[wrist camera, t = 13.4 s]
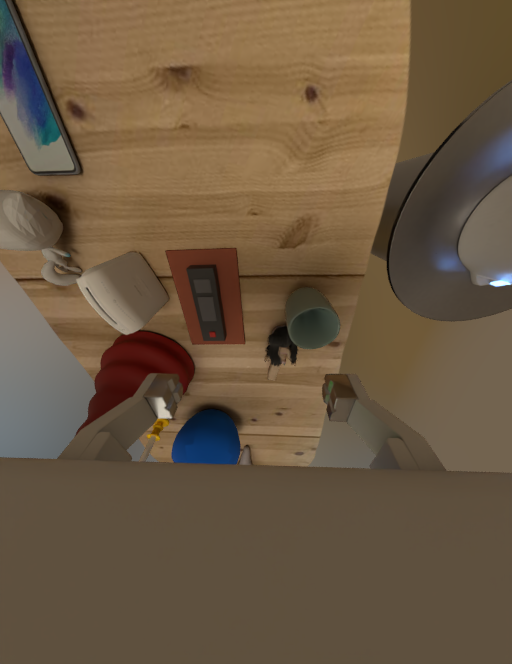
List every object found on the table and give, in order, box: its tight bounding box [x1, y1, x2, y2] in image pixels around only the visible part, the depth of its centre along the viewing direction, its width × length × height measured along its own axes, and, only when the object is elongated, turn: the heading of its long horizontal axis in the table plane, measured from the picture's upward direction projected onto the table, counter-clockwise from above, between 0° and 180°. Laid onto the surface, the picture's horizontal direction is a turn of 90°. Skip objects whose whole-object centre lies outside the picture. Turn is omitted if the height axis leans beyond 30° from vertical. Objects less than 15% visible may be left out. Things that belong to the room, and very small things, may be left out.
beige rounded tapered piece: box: [0, 190, 82, 286], centre depth 30 cm, size 10×8×15 cm
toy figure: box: [265, 325, 298, 380], centre depth 42 cm, size 7×6×15 cm
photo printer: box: [76, 252, 169, 335], centre depth 31 cm, size 10×4×12 cm, turn 19°
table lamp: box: [75, 331, 194, 436], centre depth 29 cm, size 20×20×45 cm
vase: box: [172, 409, 240, 465], centre depth 48 cm, size 18×18×30 cm
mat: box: [166, 248, 245, 344], centre depth 38 cm, size 12×20×1 cm, turn 2°
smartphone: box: [0, 0, 81, 175], centre depth 23 cm, size 7×1×15 cm
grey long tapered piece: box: [239, 446, 252, 465], centre depth 75 cm, size 8×9×26 cm
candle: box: [139, 419, 169, 462], centre depth 56 cm, size 5×5×16 cm
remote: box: [186, 264, 227, 341], centre depth 36 cm, size 15×5×2 cm, turn 2°
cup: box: [285, 287, 340, 349], centre depth 33 cm, size 8×8×10 cm
